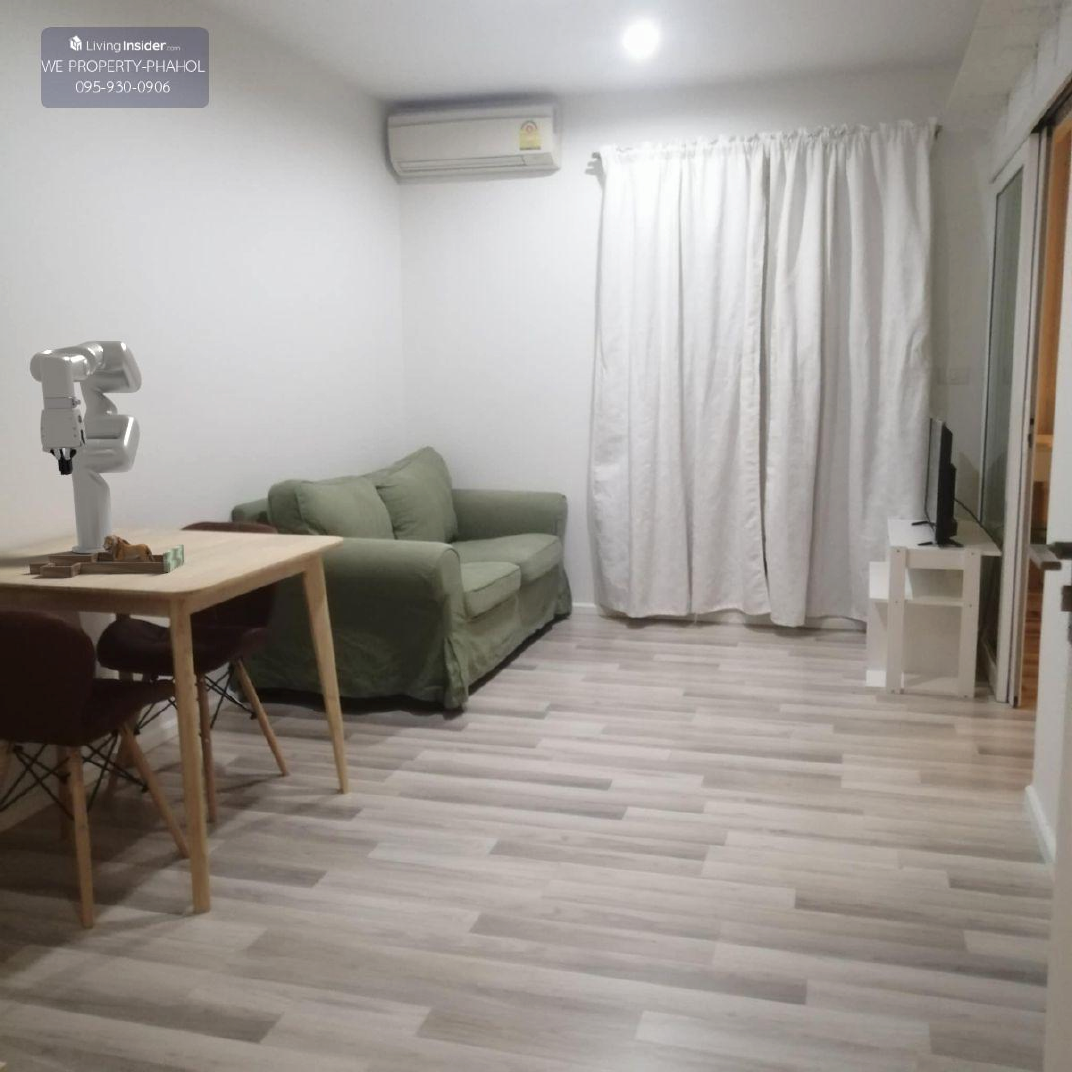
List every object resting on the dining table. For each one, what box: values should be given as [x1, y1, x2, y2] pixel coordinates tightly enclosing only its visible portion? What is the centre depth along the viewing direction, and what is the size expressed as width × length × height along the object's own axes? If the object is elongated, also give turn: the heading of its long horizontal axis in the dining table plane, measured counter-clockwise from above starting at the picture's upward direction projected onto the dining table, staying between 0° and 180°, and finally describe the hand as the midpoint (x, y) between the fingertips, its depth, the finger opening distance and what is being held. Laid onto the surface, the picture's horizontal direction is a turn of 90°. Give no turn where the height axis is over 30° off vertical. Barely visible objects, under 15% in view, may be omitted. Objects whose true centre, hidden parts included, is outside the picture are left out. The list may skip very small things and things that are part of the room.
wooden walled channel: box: [29, 544, 185, 578], centre depth 268 cm, size 22×35×5 cm, turn 91°
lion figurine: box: [103, 535, 155, 562], centre depth 267 cm, size 15×5×9 cm, turn 88°
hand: (66, 474), depth 271 cm, fingers closed
